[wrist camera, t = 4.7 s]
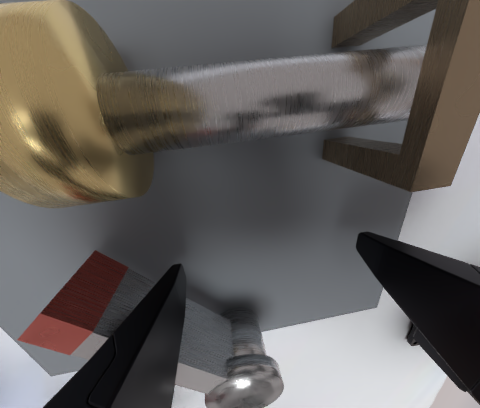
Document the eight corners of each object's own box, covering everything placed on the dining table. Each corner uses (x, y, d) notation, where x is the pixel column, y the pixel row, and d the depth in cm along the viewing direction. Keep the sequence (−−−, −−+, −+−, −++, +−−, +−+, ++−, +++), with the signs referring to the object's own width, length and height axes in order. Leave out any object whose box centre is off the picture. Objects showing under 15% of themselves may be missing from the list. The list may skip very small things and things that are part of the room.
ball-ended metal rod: (276, 317, 13) (298, 385, 10) (236, 348, 14) (244, 420, 11) (118, 223, 9) (61, 288, 5) (73, 275, 10) (-1, 360, 6)
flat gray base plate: (463, -64, 7) (498, -89, 6) (367, 296, 16) (376, 307, 15) (-298, -33, 5) (-402, -64, 4) (61, 359, 14) (51, 376, 13)
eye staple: (346, 26, 8) (572, -125, 3) (333, 152, 10) (450, 185, 5) (319, 28, 8) (506, -124, 3) (312, 155, 10) (411, 192, 5)
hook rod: (474, 17, 7) (787, -103, 3) (435, 136, 9) (607, 151, 5) (61, 49, 6) (-223, -79, 2) (113, 180, 8) (16, 243, 4)
